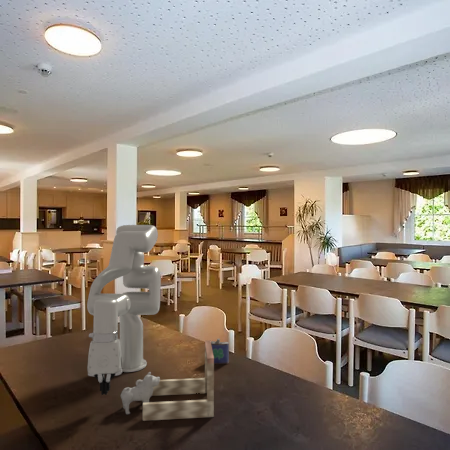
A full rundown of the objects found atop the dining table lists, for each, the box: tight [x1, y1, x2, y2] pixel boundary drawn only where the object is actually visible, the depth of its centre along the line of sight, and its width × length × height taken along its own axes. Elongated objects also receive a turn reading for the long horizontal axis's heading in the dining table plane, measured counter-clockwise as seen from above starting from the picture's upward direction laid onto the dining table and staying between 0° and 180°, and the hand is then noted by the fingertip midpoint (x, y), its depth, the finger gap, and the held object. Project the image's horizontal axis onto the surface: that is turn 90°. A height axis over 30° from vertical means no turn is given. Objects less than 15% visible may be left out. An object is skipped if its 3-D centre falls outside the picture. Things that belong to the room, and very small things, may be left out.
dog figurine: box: [120, 371, 161, 415], centre depth 115 cm, size 5×13×11 cm, turn 119°
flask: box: [211, 338, 230, 365], centre depth 150 cm, size 9×3×11 cm, turn 87°
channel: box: [142, 339, 215, 422], centre depth 116 cm, size 22×16×19 cm
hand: (105, 392), depth 113 cm, fingers closed
